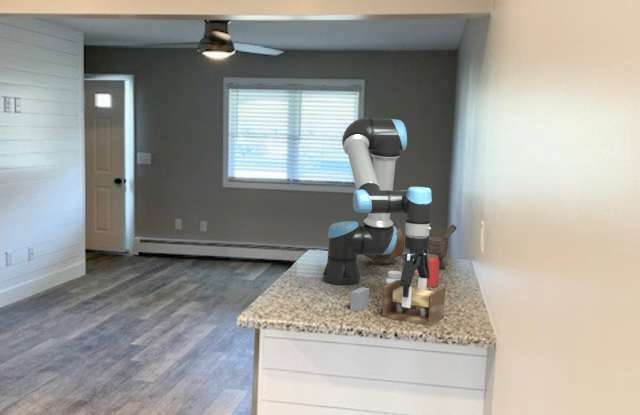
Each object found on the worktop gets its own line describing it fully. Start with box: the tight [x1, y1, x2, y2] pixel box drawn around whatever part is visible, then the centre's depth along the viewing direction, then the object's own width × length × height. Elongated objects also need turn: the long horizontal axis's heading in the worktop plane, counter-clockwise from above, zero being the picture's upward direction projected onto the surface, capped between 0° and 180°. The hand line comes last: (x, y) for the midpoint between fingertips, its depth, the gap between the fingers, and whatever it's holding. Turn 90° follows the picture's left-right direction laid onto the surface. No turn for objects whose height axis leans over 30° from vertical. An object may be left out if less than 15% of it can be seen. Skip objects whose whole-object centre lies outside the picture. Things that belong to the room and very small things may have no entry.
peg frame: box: [382, 280, 446, 327], centre depth 191 cm, size 16×11×10 cm
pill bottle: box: [384, 270, 403, 287], centre depth 206 cm, size 6×6×11 cm
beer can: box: [426, 253, 440, 288], centre depth 235 cm, size 7×7×12 cm
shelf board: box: [392, 286, 435, 308], centre depth 191 cm, size 12×7×4 cm, turn 61°
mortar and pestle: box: [428, 224, 458, 269], centre depth 269 cm, size 12×9×20 cm
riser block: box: [349, 286, 370, 312], centre depth 201 cm, size 3×8×6 cm, turn 151°
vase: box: [364, 217, 405, 265], centre depth 272 cm, size 23×19×30 cm
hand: (414, 302), depth 191 cm, fingers open, 13 cm apart
